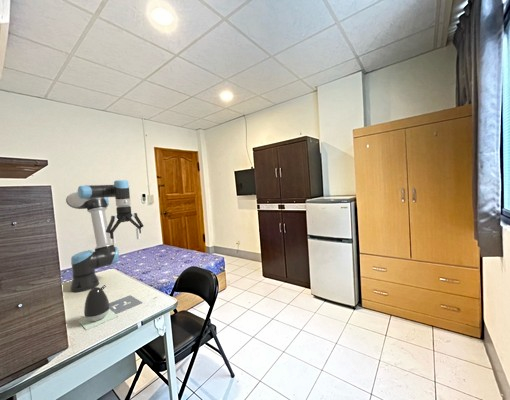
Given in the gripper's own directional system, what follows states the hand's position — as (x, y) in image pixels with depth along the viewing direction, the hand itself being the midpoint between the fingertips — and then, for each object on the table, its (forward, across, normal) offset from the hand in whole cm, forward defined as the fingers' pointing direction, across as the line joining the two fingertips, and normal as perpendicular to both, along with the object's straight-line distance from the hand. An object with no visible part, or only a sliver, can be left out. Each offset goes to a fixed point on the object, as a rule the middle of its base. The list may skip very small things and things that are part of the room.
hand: (126, 241), depth 137 cm
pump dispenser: (+31, -22, -16) cm, 42 cm away
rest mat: (+32, -22, -16) cm, 42 cm away
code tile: (+32, -10, -11) cm, 35 cm away
